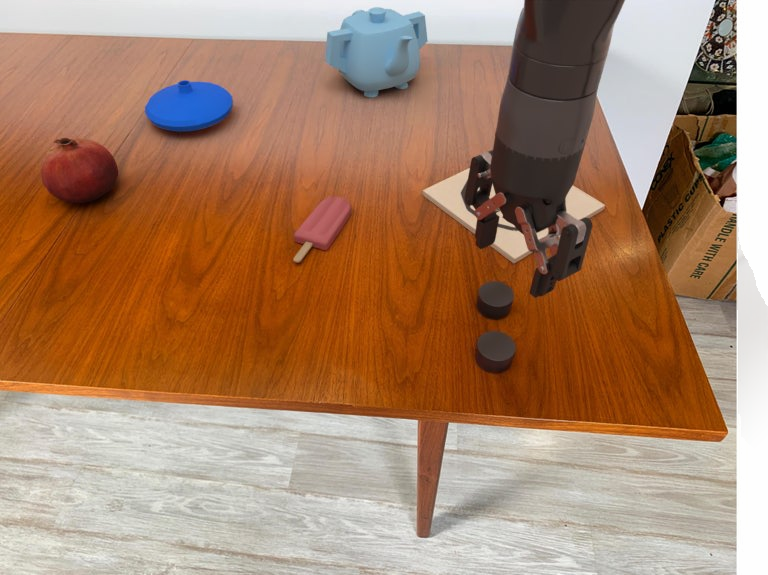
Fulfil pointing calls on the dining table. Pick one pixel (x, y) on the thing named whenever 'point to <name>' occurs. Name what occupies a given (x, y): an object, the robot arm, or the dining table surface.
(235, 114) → the dining table surface
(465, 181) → the board
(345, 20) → the teapot
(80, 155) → the fruit
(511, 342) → the dot left
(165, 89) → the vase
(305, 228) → the popsicle
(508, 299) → the dot right
